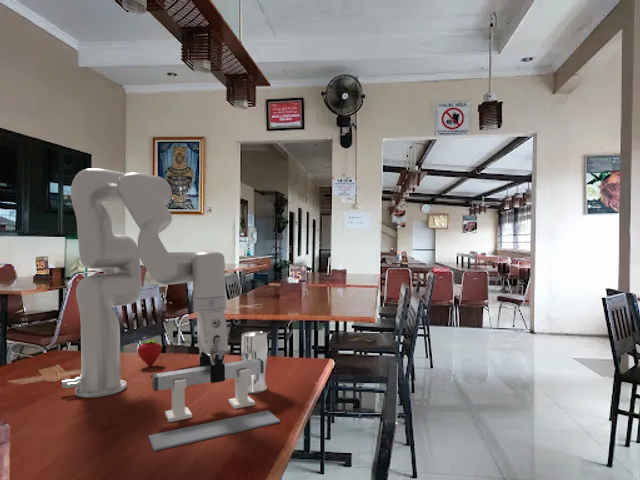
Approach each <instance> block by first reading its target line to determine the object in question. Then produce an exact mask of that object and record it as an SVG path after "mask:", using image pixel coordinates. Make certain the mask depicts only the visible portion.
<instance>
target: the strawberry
mask: <svg viewBox="0 0 640 480" xmlns="http://www.w3.org/2000/svg"><path fill="white" fill-rule="evenodd" d="M149 337H150V338H151V340H150V339H148V340H146V341H142V342H141V343H142V344H141V345H140V346H138V348H137V354H138V357H139V358H140V359H141V360H142V362H144V363H145V364H146V366H148V367H152V366H154V363H155V362H156V361H157V359H158V358H159V357H160V355H161V353H162V349H163V348H162V344H160V343H159V342H158V340H153V337H152V336H151V335H149Z"/></svg>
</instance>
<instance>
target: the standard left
mask: <svg viewBox="0 0 640 480" xmlns="http://www.w3.org/2000/svg"><path fill="white" fill-rule="evenodd" d="M185 389H187V386H186V379H182V380H176V381H174V388H171V409H169V410H164V414H165V418H166V419H167V421H168V422H169V423H171V422H177V421H182V420H186V419H191V418H193V414H192V412H191V410H190V409H189V408H188V407H187V406H186V405H185V404H186V403H185V402H186V401H185V399H186V398H185V397H186V395H185V393H186V392H185Z"/></svg>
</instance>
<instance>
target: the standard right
mask: <svg viewBox="0 0 640 480" xmlns="http://www.w3.org/2000/svg"><path fill="white" fill-rule="evenodd" d="M248 377H250V369H245V370H239V377H237V378H234V397H233V398H228V403H229V404H230V406H231V407H232V408H234V409H235V410H236V409H241V408H245V407H250V406H255V405H256V401H255V400H254V399H252V398H251V397H250V396H249V393H248Z"/></svg>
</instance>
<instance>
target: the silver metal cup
mask: <svg viewBox="0 0 640 480" xmlns="http://www.w3.org/2000/svg"><path fill="white" fill-rule="evenodd" d="M267 337H268V336H267V332H266V331H258V330H257V331H248V332H247V331H246V332H244V333H242V334H241V345H240V346H241V350H240V351H241V361H244V360H251V359H258V358H259V359H261V360H263V363H264V373H261V374H255V375H250V377H248V394H261V393H264V392H265V391H267V388H268V387H267V383H266V367H267V363H268V362H267V360H268V338H267Z"/></svg>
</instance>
